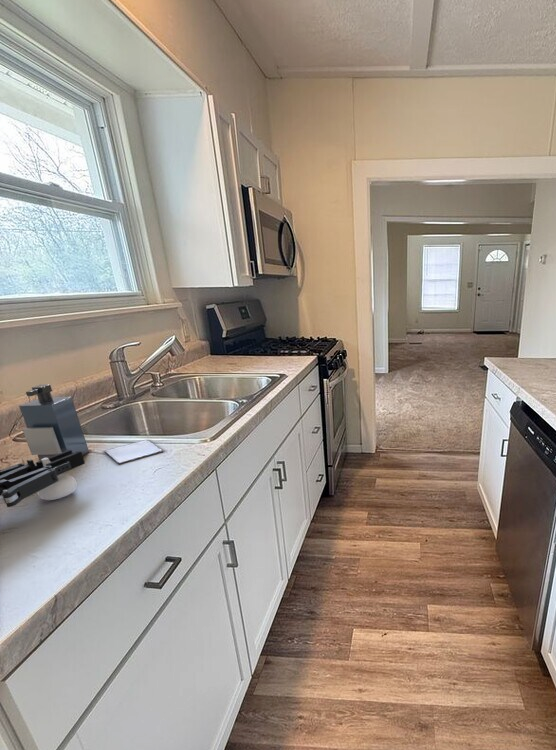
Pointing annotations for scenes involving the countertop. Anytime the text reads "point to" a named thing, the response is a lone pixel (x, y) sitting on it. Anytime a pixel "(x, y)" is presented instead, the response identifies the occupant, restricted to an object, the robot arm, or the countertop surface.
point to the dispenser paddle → (41, 440)
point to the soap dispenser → (55, 419)
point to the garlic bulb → (58, 486)
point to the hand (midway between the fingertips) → (76, 456)
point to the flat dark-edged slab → (133, 451)
